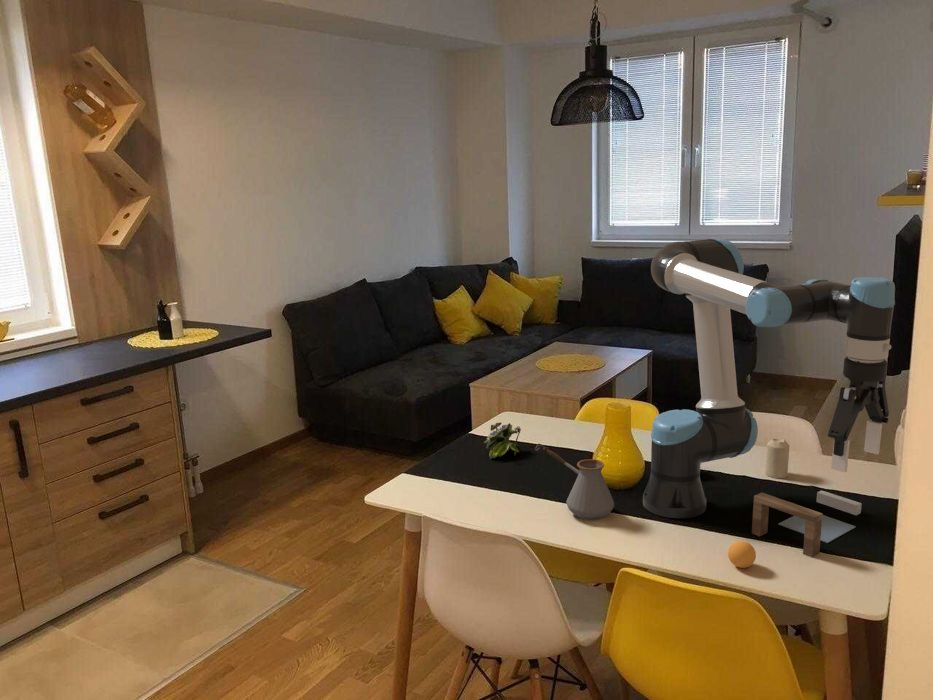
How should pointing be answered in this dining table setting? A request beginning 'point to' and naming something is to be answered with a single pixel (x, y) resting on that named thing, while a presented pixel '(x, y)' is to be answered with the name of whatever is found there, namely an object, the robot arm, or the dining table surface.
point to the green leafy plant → (501, 440)
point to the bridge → (811, 517)
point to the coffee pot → (587, 489)
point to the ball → (741, 554)
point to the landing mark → (828, 530)
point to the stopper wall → (839, 502)
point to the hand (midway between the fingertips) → (855, 461)
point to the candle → (777, 458)
